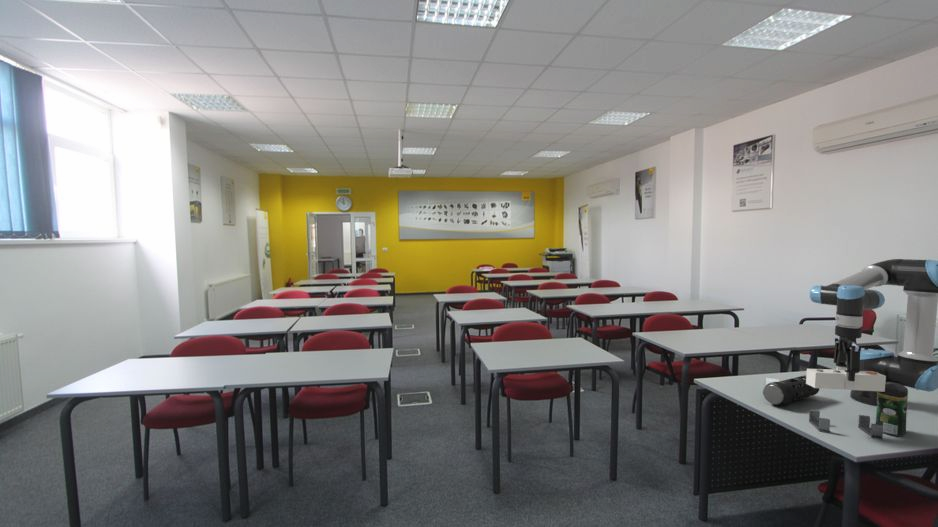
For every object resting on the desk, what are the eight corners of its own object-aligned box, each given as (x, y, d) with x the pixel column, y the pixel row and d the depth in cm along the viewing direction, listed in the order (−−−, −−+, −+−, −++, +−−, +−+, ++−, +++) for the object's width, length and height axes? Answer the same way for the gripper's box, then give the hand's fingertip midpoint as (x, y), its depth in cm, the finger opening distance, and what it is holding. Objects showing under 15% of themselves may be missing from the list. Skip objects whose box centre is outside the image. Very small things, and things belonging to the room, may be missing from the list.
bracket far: (817, 422, 168) (818, 410, 167) (829, 432, 159) (829, 419, 159) (808, 421, 169) (809, 409, 168) (819, 431, 160) (820, 418, 160)
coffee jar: (879, 424, 166) (882, 378, 165) (907, 432, 159) (911, 384, 158) (871, 430, 161) (874, 383, 160) (901, 439, 154) (904, 389, 153)
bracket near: (867, 428, 163) (868, 415, 162) (882, 439, 154) (883, 425, 154) (858, 427, 164) (859, 414, 163) (872, 437, 155) (872, 424, 155)
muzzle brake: (819, 400, 191) (820, 378, 190) (783, 411, 179) (785, 387, 178) (796, 393, 200) (797, 372, 199) (760, 403, 188) (761, 380, 187)
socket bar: (873, 387, 162) (874, 370, 161) (884, 391, 157) (886, 374, 157) (805, 383, 165) (807, 367, 164) (814, 388, 160) (815, 371, 159)
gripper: (824, 321, 169) (821, 377, 171) (849, 330, 152) (845, 393, 153) (847, 322, 167) (844, 379, 168) (875, 332, 149) (871, 395, 151)
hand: (844, 385), depth 161 cm, fingers closed on socket bar, 6 cm apart
